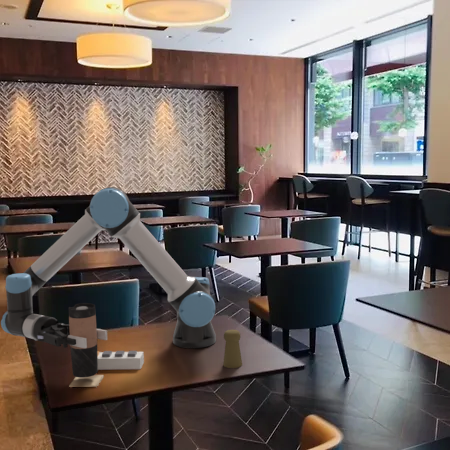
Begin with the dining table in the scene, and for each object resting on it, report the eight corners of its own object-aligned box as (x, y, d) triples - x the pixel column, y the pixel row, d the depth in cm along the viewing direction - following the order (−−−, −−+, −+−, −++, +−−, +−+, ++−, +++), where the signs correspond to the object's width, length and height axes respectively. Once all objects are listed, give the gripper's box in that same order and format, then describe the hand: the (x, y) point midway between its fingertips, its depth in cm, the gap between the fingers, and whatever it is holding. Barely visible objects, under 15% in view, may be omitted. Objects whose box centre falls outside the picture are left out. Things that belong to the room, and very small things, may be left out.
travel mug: (99, 376, 163) (96, 308, 161) (72, 379, 161) (68, 311, 159) (97, 366, 171) (94, 301, 168) (71, 369, 169) (67, 304, 166)
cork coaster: (103, 376, 170) (103, 374, 170) (96, 387, 162) (96, 385, 162) (77, 377, 170) (77, 375, 170) (69, 387, 162) (69, 385, 162)
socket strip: (143, 362, 181) (143, 348, 181) (140, 369, 176) (140, 355, 175) (88, 362, 182) (87, 349, 182) (82, 369, 176) (82, 356, 176)
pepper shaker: (228, 369, 173) (227, 334, 172) (219, 363, 179) (218, 329, 178) (245, 365, 176) (245, 331, 175) (236, 360, 182) (235, 326, 180)
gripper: (67, 331, 183) (121, 342, 171) (14, 349, 166) (69, 363, 154) (66, 308, 182) (120, 317, 170) (13, 324, 165) (68, 336, 153)
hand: (96, 339), depth 162 cm, fingers closed on travel mug, 7 cm apart
